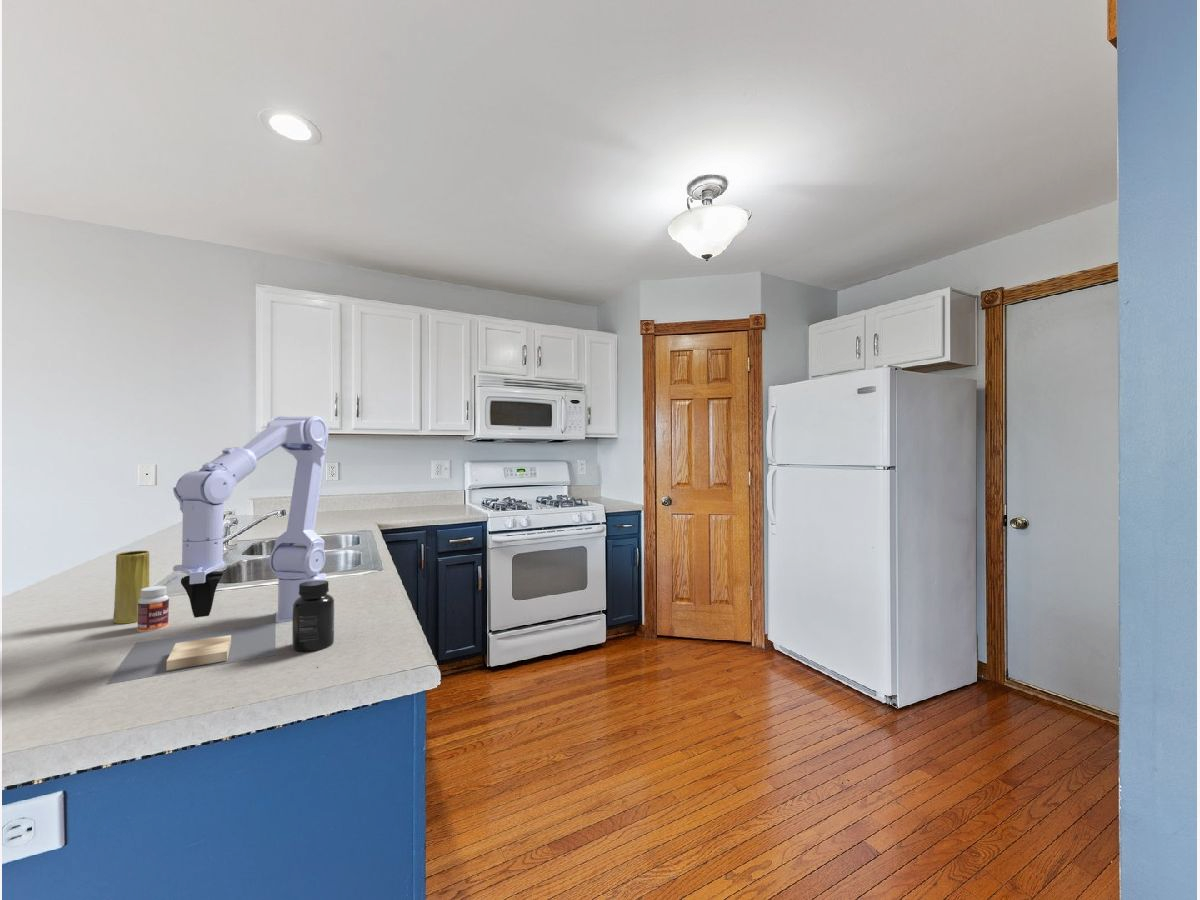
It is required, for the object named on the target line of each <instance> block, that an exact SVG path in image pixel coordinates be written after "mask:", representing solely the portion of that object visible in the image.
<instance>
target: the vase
mask: <svg viewBox="0 0 1200 900" xmlns="http://www.w3.org/2000/svg"><path fill="white" fill-rule="evenodd" d="M114 585H115V586H114V602H113V603H114V606H113V617H112V623H113V624H116V625H123V624H124V625H126V624H134V623H138V601H139V600H140V599H141V598H142V597H141V596H140V594H141V589H143V588H147V587H150V551H149V550H132V551H124V552H120V553H119V552H118V553H116V556H115V584H114Z"/></svg>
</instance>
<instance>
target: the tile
mask: <svg viewBox="0 0 1200 900" xmlns="http://www.w3.org/2000/svg"><path fill="white" fill-rule="evenodd" d="M230 646H231V635H228V636H221V637H214V638H207V639H201V640H194V641H187V642H180V643H176V644H175V646H174V648H173V650H172V651H171V653H170V655H169V657H168V659H167V666H166V671H168V670H175V669H181V668H186V667H192V666H198V665H204V664H210V663H216V662H222V661H227V658H228V654H229V650H230Z"/></svg>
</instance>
